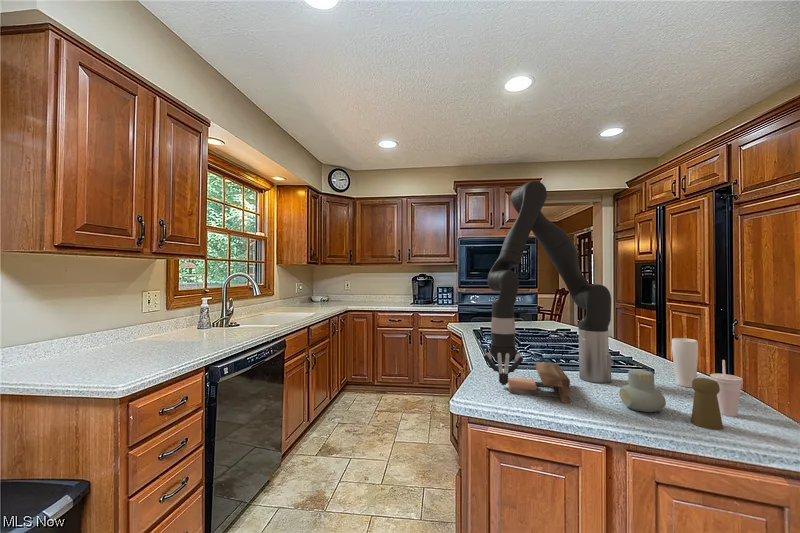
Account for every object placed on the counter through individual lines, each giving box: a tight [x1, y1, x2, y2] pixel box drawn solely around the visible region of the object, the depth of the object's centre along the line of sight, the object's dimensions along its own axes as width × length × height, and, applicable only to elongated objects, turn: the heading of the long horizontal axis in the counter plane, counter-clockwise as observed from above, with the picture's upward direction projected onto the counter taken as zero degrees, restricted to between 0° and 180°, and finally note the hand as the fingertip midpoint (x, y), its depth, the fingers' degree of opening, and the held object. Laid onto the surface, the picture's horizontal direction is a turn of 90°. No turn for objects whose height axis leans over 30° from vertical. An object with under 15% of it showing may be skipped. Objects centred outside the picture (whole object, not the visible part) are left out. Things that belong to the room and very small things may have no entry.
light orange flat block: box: [507, 377, 537, 393], centre depth 114 cm, size 8×7×2 cm
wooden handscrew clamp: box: [510, 361, 571, 404], centre depth 113 cm, size 16×20×6 cm
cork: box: [690, 377, 724, 431], centre depth 87 cm, size 6×6×11 cm
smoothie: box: [709, 359, 744, 418], centre depth 93 cm, size 6×6×14 cm
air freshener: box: [618, 368, 667, 413], centre depth 97 cm, size 11×8×10 cm
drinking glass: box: [671, 337, 699, 389], centre depth 117 cm, size 7×7×15 cm
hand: (503, 384), depth 116 cm, fingers closed
